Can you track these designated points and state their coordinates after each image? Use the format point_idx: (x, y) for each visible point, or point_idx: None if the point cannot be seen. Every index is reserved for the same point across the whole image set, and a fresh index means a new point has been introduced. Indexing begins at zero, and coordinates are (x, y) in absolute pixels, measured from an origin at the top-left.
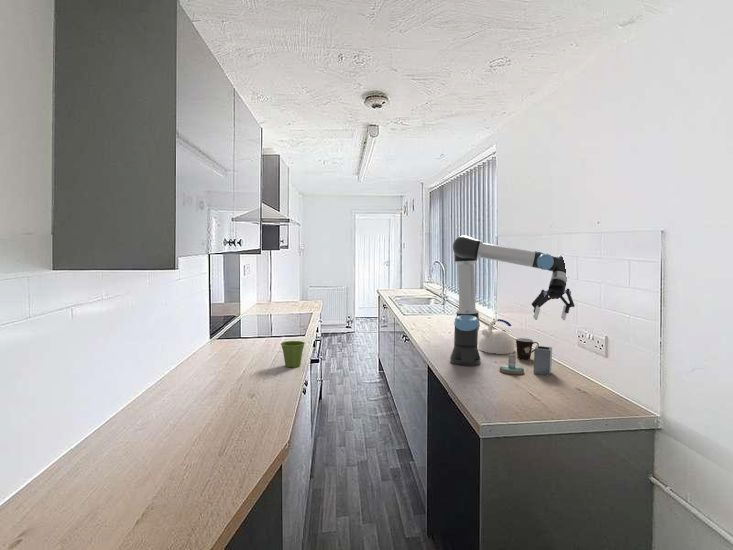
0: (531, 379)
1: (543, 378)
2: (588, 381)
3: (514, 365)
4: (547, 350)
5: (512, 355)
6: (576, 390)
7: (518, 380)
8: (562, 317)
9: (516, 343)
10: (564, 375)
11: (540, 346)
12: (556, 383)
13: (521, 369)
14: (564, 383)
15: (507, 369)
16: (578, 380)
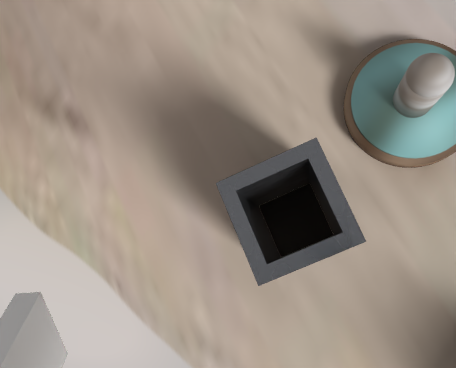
0: (265, 77)
1: (240, 138)
2: (93, 266)
3: (396, 91)
4: (234, 175)
5: (421, 58)
6: (74, 101)
7: (292, 14)
8: (27, 301)
9: None
10: (205, 271)
11: (329, 238)
12: (165, 118)
13: (360, 118)
14: (144, 147)
15: (406, 54)
16: (127, 244)
